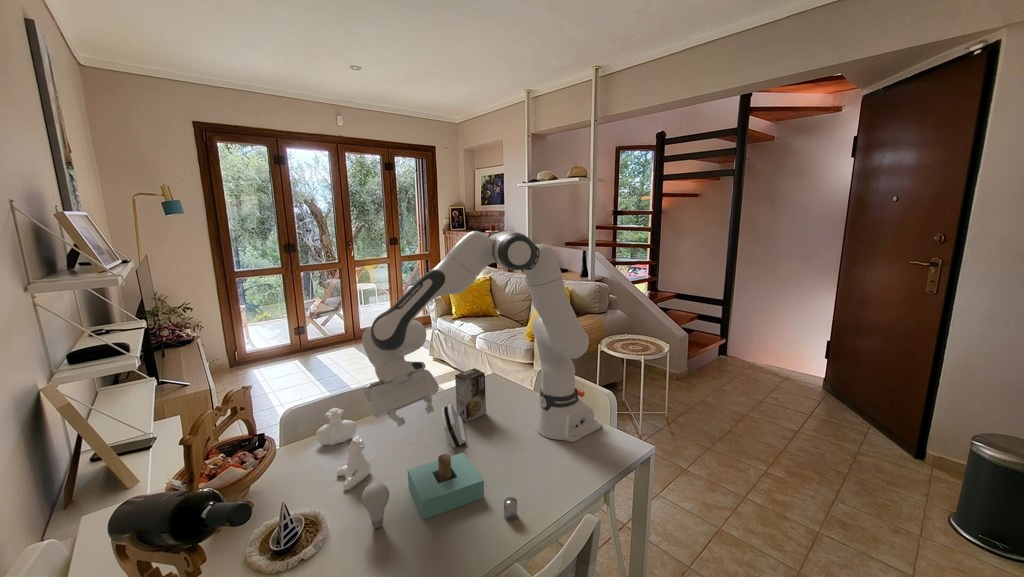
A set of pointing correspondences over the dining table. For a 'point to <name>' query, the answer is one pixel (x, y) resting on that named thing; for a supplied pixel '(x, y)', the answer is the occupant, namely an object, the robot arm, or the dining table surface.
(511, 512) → the short metal pin
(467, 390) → the coffee box
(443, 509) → the hole block
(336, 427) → the bust
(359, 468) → the white creature statuette
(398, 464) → the dining table surface
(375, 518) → the lightbulb
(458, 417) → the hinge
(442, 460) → the tall walnut pin
